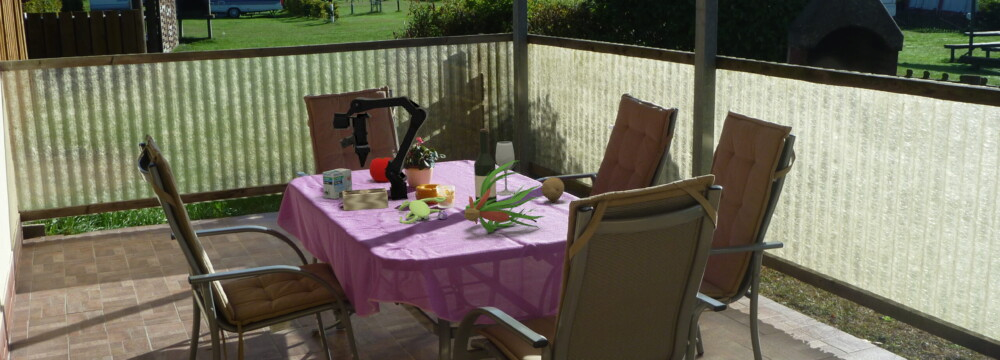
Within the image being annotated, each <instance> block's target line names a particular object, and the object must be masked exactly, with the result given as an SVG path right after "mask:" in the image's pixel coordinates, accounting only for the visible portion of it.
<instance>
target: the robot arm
mask: <svg viewBox="0 0 1000 360" xmlns="http://www.w3.org/2000/svg"><path fill="white" fill-rule="evenodd" d="M349 105H350V106H349V108H348V110H347V112H334V113H333V121H332V127H333V129H334V131H335V130H350V128H352V132H351V135H348V136H345V137H344V138H341V139H340V140H338V141H339V144H340V145H341V149H346V148H347V147H349V146H351V147H352V148H353V153H354V154H356V155H357V157H358V162H359V166H360V168H364V167H365V164H366V161H367V158H368V155H369V153H371V147H370V145H369V137H368V136H369V135H368V133H369V132H368V124H367V123H368V121H367V119H370V118H372V114H370V113H369V111H370V110H374V109H383V108H384V109H385V108H394V107H395V108H396V107H402V108H403V110H405V111H406V112H407V113H408V114H409V115H410V116H411V117H410V123H409V126H408V129H407V130H406V134H405V136H404V138H403V139H402V141H401V143H400V146H399V148H398V150H397V153H396V155H395V157H394V158H393V159H394V160H393V159H392V157H390V158H391V159H390V160H389V161H388V164H387V167H386V168H385V169H384V170H386V171H385V176H386V178H387V179H388V180H389V181H388V182H389V183H390V186H389V188H388V189H389V198H391V200H393V201H396V200H406V199H409V197H408V183H407V179H408V176H407V174H406V173H405V172H404V171H403V169H404V165H405V159H406V157H407V155H408V153H409V151H410V149H411V147H412V144H413V142H414V141H415V139H416V136H417V134H418V131H419V130H420V129H421V128H422V126H423V125H424V123H425V122H426V121H427V119H428V117H429V115H430V113H429V110H428V109H427V108H426V107H425V106H421V105H420V104H418V103H417V102H415V100H413V99H411V98H409V96H408V95H401V96H391V97H380V98H371V97H361V96H359V97H356V98H354V99H352V100H351V102H350V104H349Z"/></svg>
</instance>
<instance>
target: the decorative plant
mask: <svg viewBox="0 0 1000 360" xmlns="http://www.w3.org/2000/svg"><path fill="white" fill-rule="evenodd" d="M509 159H510V158H509ZM503 162H504V161H503ZM513 162H514V164H513V165H512V167H511V168H510V169H509V168H505V167H507V166H508V165H510V164H512V163H513ZM513 162H510V163H507V164H505V165H503V166H500V167H499V166H498V165H497V164H496V166H495V167H494V168H496V169H495V170H494V171H493V172H492V173H491V174H490V175H489V176H487V175H488V174H487V175H486V176H487V178H486V177H485V178H486V179H485V178H484V180H483V183H482V186H481V198H479V199H478V200H480V199H481V200H480V201H478V200H476V199H475V200H474V199H473V197H472V196H470V195H469V196H468V202H469V203H468V204H467V205H466V206H465V209H464V214H463V216H464V219H465V220H467V221H469V222H473V223H475V225H478V222H480V224H481V225H482V227H483V228H484V230H486V231H487V232H489V233H493V232H494V231H495V230H496V229H499V228H509V226H510V227H513V226H516V225H521V226H525V227H530V228H531V227H534V228H537V229H541V227H540V228H539V226H537V225H533V224H528V223H525V222H523V221H524V220H529V221H532V222H534V223H537V222H538V221H537V219H541V218H545V216H544V215H531V213H532V211H534V210H535V209H537V207H535V208H531V209H530V210H529V211H527V213H530V212H531V213H530V215H529V214H527V213H523V212H524V211H526V207H524V208H523V209H522V210H520V211H517V210H516V211H513V209H514V208H518V207H520V206H522V205H524V204H525V203H528V202H530V201H532V200H534V201H535V200H538V199H541V198H543V196H542V197H540V196H538V197H536V196H533V197H529V198H527V199H525V200H523V199H524V197H526V196H527V195H528V194H529V193H530V192H531V191H533V190H534V189H538V188H539V187H540V186H541V184H539V185H536V186H532V187H530V188H527V189H524V190H522V189H523V187H524V186H525V185H527V183H525V184H524V185H522V186H521V187H520V188H519V189H518V190H517V191H516V192H515V194H513V195H512V196H511V197H510V198H506V199H504V200H503V199H502V200H499V201H497V202H495V203H492V204H489V203H491V202H492V201H494V200H498V198H497V199H493V200H489V201H487V199H488V198H489V195H490V191H491V186H492V185H493V184H494V183H495V182H496V183H497V181H499V180H503V179H505V178H509V176H511V175H515V174H520V171H514V172H510V171H511V170H512V169H514V167H515V166H517V164H518V163H519V162H521V160H514V161H513ZM500 164H501V163H500ZM497 166H498V167H497ZM503 168H504V169H503ZM506 169H509V170H508V172H507V173H503V174H500V173H502V172H504V170H506ZM498 174H500V175H498ZM495 175H496V178H495V179H494V180H493V181H491V179H492V178H493V177H494V176H495ZM497 175H498V176H497ZM505 176H507V177H505ZM490 181H491V182H490ZM521 190H522V191H521ZM490 197H492V196H490ZM521 200H522V201H521ZM477 201H478V202H477ZM517 202H518V203H517ZM487 204H489V205H487ZM483 207H484V208H483ZM478 219H479V221H478ZM518 219H522V221H519V220H518ZM486 221H487V222H486Z"/></svg>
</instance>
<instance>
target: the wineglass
mask: <svg viewBox="0 0 1000 360" xmlns="http://www.w3.org/2000/svg"><path fill="white" fill-rule="evenodd" d="M513 145H514V144H513V141H498V142H497V143H496V149H495V164H496V166H497V165H498V168H499V167H500V166H503V165H505V164H507V163H510V162H513V161H515V151H514V150H515V149H514V146H513ZM509 158H510V159H509ZM503 161H504V162H503ZM500 163H501V164H500ZM514 165H515V162H513V163H512V164H510V165H508V166H507V167H505V168H509V169H506V170H504V171H503V172H504V173H503V174H505V173H508V172H509V170H510V169H511V168H512V167H513V166H514ZM503 169H504V168H503ZM505 177H508V176H505ZM514 193H516V192H515V191H511V190H508V180H507V178H504V190H503V191H499V192H496V195H499V196H512V195H511V194H513V195H514Z"/></svg>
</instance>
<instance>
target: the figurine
mask: <svg viewBox="0 0 1000 360" xmlns="http://www.w3.org/2000/svg"><path fill="white" fill-rule="evenodd" d="M446 201H447V197H442V196H435V197H427V198H422V199H414V200H412V201H409V200H406V199H405V200H404V202H402V204H401V205H400V206H399V207H398V209H397V210H398V212H402V211H403V209H405V208H406V207H409V210H410V211H409V212H408V213H407V214H406V216H405V218H406V219H407V220H405V221H404V220H403V217H402V216H399V219H398V220H399V222H400V223H401V224H402V223H404V224H403V225H409V224H413V223H415V222H416V221H417V220H418V221H421V220H422V218H423V219H425V220H428V219H429V215H430V214H431V213H438V214H437V216H436V217H437V218H439V219H441V220H446V219H447V218H448V216H449V214H448V212H446V211H445V210H441V209H435V208H433V209H431V208H430V207H429V205H428V204H427V203H426V202H436V203H439V204H443V203H446Z"/></svg>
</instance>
